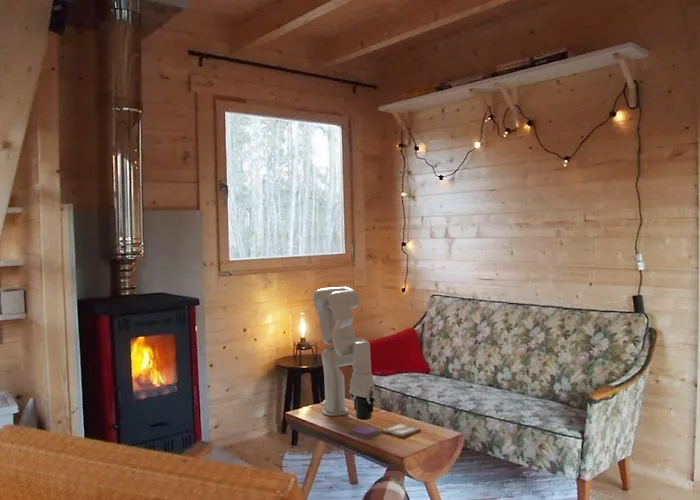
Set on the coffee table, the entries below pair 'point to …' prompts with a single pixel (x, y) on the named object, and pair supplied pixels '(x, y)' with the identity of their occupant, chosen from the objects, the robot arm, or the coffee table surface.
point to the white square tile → (400, 430)
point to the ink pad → (364, 432)
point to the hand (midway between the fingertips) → (363, 410)
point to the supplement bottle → (362, 409)
